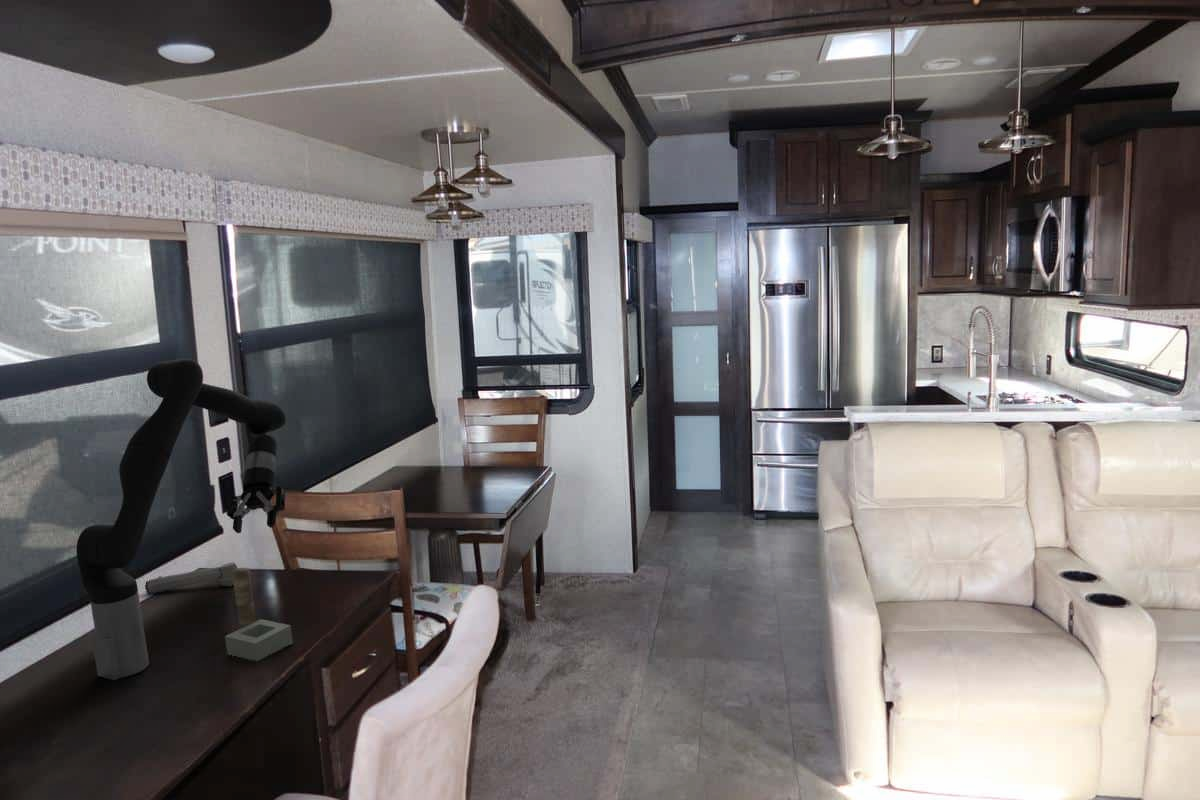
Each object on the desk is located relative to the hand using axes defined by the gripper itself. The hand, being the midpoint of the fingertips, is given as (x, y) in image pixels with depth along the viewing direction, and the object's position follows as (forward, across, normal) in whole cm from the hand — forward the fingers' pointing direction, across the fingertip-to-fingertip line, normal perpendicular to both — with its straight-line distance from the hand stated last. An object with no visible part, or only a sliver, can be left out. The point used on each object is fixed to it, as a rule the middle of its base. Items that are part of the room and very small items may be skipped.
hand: (253, 529), depth 216 cm
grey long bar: (+1, -30, +27) cm, 41 cm away
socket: (+32, +6, -1) cm, 32 cm away
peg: (+25, -1, +5) cm, 26 cm away
